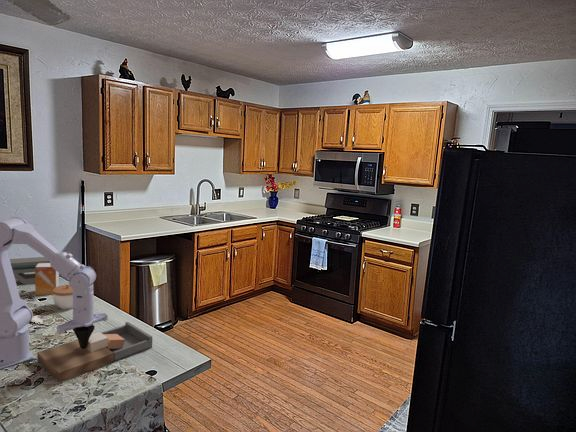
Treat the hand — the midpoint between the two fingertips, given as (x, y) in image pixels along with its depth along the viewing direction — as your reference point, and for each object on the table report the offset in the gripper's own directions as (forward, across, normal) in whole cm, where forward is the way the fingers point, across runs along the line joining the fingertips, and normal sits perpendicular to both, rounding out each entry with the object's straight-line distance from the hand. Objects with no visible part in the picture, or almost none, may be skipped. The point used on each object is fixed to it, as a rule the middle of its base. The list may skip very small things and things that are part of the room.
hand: (83, 347), depth 122 cm
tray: (+4, +13, 0) cm, 13 cm away
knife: (+5, +3, +36) cm, 36 cm away
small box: (+4, +14, +66) cm, 68 cm away
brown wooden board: (+4, -2, 0) cm, 5 cm away
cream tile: (+1, +4, 0) cm, 4 cm away
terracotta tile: (+3, +9, 0) cm, 9 cm away
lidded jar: (+4, +14, +45) cm, 47 cm away
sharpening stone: (+4, +17, +84) cm, 86 cm away
